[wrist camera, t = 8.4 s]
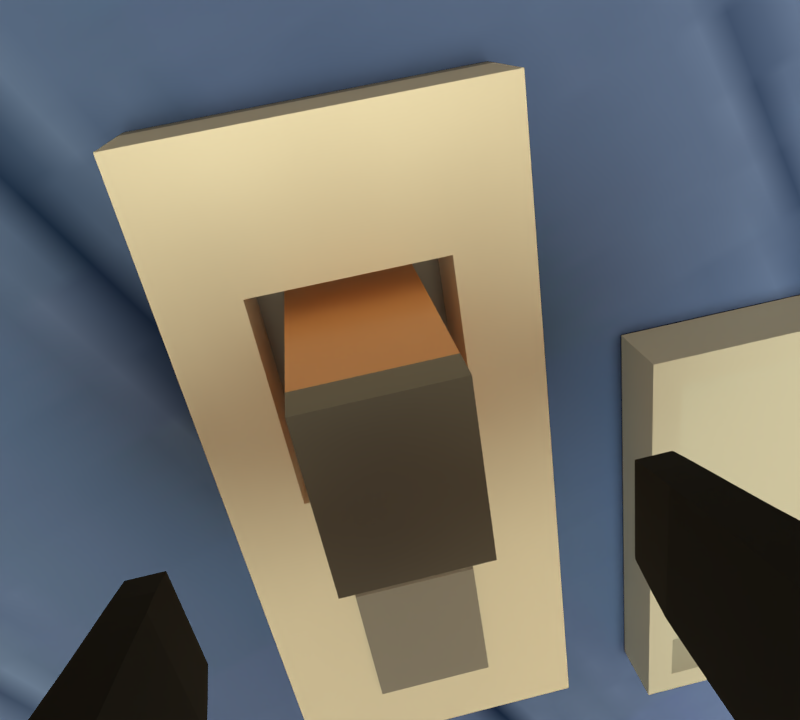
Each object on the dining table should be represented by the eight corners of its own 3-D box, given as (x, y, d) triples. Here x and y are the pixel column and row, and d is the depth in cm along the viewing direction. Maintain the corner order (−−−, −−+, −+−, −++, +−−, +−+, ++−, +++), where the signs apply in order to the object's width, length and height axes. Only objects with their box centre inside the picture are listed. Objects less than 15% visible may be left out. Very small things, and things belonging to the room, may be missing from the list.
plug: (432, 399, 18) (496, 560, 12) (321, 425, 18) (338, 598, 12) (408, 258, 16) (471, 375, 11) (284, 284, 16) (284, 418, 10)
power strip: (541, 624, 23) (569, 690, 21) (313, 681, 23) (316, 756, 20) (487, 61, 15) (526, 67, 12) (122, 132, 14) (92, 153, 12)
